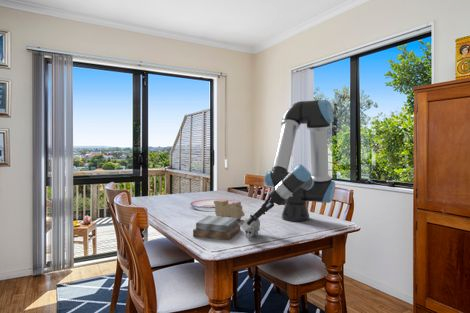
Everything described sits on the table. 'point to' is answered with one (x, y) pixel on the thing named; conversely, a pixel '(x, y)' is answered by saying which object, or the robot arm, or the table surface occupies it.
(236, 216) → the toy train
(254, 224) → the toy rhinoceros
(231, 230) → the brick stand
